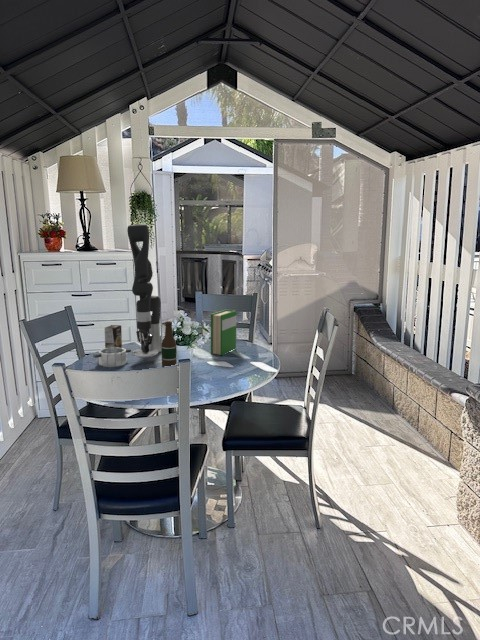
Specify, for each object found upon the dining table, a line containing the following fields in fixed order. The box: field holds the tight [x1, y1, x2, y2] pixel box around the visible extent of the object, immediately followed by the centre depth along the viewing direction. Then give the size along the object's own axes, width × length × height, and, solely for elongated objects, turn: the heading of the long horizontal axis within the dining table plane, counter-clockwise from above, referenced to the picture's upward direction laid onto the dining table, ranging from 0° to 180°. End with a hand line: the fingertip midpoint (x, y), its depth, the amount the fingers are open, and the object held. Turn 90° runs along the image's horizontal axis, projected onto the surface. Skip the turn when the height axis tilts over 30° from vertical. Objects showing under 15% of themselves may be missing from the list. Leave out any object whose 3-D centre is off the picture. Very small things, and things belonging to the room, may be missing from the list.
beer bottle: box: [161, 320, 178, 368], centre depth 241 cm, size 8×8×24 cm
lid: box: [131, 343, 159, 359], centre depth 246 cm, size 14×14×7 cm
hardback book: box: [210, 309, 237, 356], centre depth 271 cm, size 18×7×24 cm, turn 153°
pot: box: [92, 347, 132, 368], centre depth 246 cm, size 20×14×7 cm
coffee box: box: [104, 324, 123, 348], centre depth 264 cm, size 9×6×16 cm
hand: (145, 350), depth 247 cm, fingers closed on lid, 3 cm apart
